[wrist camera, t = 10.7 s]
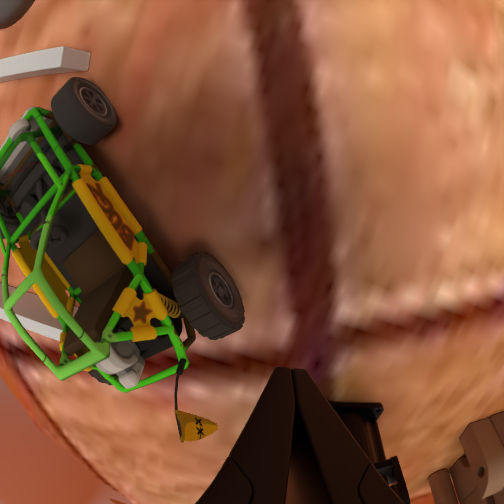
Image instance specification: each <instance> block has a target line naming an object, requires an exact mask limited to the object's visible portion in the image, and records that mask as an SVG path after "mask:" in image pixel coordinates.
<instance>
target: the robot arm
mask: <svg viewBox="0 0 504 504" xmlns="http://www.w3.org/2000/svg"><path fill="white" fill-rule="evenodd" d="M383 410H384V409H383V406H382V405H381V404H349V403H329V402H328V400H327V399H326V397H325V396H324V394H323V393H322V391H321V390H320V389H319V387H318V386H317V384H316V383H315V381H314V380H313V378H312V377H311V376H310V374H309V373H308V371H307V370H305V369H296V368H293V369H290V368H288V367H279V366H277V367H275V369H274V371H273V373H272V375H271V377H270V379H269V381H268V383H267V385H266V387H265V389H264V391H263V392H262V394H261V396H260V398H259V400H258V402H257V404H256V406H255V408H254V410H253V412H252V414H251V415H250V417H249V419H248V421H247V423H246V425H245V427H244V429H243V430H242V432H241V434H240V436H239V438H238V440H237V441H236V443H235V445H234V447H233V449H232V450H231V452H230V454H229V457H227V459H226V461H225V462H224V464H223V466H222V468H221V469H220V471H219V472H218V474H217V475H216V477H215V479H214V480H213V482H212V483H211V485H210V486H209V487H208V488H207V490H206V491H205V492H204V493H203V495H202V496H201V497H200V498H199V500H198V501H197V502H196V503H195V504H410V498H409V494H408V490H407V487H406V483H405V480H404V477H403V474H402V470H401V467H400V464H399V461H398V458H397V456H394V457H391V458H390V459H387V460H386V457H385V453H384V449H383V445H382V440H381V436H380V432H379V428H378V424H377V419H378V418H379V416H380V415H381V413H382V412H383ZM389 484H392V485H391V486H389Z"/></svg>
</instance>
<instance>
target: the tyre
mask: <svg viewBox="0 0 504 504" xmlns="http://www.w3.org/2000/svg"><path fill="white" fill-rule="evenodd" d="M34 1H35V0H0V29H4V28H7V27H10V26H11V25H13V24H14V23H16V22H17V21H18V20H19V19H21V18H22V17H23V16H24V14H25V13H26V12H27V11H28V10H29V8H30V7H31V6H32V4H33V3H34Z"/></svg>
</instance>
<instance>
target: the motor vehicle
mask: <svg viewBox="0 0 504 504" xmlns="http://www.w3.org/2000/svg"><path fill="white" fill-rule="evenodd" d="M51 107H52V112H51V111H48V110H46V109H43V108H40V107H31V108H29V109H27V110H26V112H25V113H24V114H23V116H22V117H21V118H20V120H18V121H16V122H15V123H14V124H13V125H12V126H11V127H10V129H9V132H8V134H9V135H8V136H7V138H6V139H5V141H4V142H3V144H2V145H1V147H0V246H1V249H2V251H3V254H4V257H5V258H4V264H3V271H2V291H3V303H4V311H5V313H6V315H7V317H8V318H9V320H10V321H11V323H12V324H13V326H14V327H15V329H16V330H17V332H18V333H19V335H20V336H21V337H22V338H23V340H24V341H25V342H26V343H27V344H28V345H29V347H30V348H31V349H32V350H33V351H34V352H35V353H36V354H37V356H38V357H39V358H40V359H41V360H42V361H43V362H44V363H45V364H46V365H47V366H48V367H49V368H50V369H51V370H52V372H53V373H54V374H55V375H56V376H57V378H58V379H60V380H61V381H63V380H65V379H67V378H69V377H71V376H73V375H75V374H77V373H79V372H80V371H82V370H84V371H88V373H89V374H90V375H91V376H92V377H95V378H96V379H97V380H98V381H99V382H101V383H107V384H109V385H114V386H115V387H116V388H117V389H118V390H120V391H122V392H129V391H132V390H135V389H137V388H140V387H143V386H146V385H149V384H152V383H154V382H157V381H159V380H161V379H164V378H166V377H168V376H171V375H173V374H175V373H177V377H176V384H175V415H176V420H177V425H178V430H179V435H180V440H181V442H184V441H195V440H199V439H202V438H205V437H207V436H209V435H211V434H212V433H214V432H215V431H216V430H217V429H218V425H217V424H216V423H214V422H212V421H210V420H208V419H205V418H202V417H199V416H196V415H193V414H190V413H186V412H182V411H179V410H178V407H177V389H178V378H179V375H182V373H183V370H184V369H186V368H188V364H189V361H188V359H187V356H186V353H185V351H186V350H187V349H188V348H189V346H190V345H191V344H192V343H193V342H194V341H195V339H196V335H195V331H194V328H195V329H196V330H197V331H198V332H199V334H201V335H202V336H204V337H208V338H209V339H211V340H217V339H219V338H223V337H225V336H227V335H230V334H232V333H234V332H236V331H238V330H240V329H241V328H242V326H243V325H242V324H243V323H244V321H245V317H244V312H245V311H244V306H243V303H242V299H241V296H240V294H239V291H238V289H237V287H236V285H235V283H234V281H233V280H232V278H231V276H230V275H229V273H228V272H227V271H226V270H225V268H224V267H223V266H222V265H221V264H220V263H219V262H218V261H217V260H216V259H214V258H212V256H211V255H209V254H207V253H205V254H204V253H202V252H197V253H195V254H194V255H192V256H191V257H189V258H187V259H186V260H184V261H183V262H181V263H180V264H179V265H177V266H176V267H175V269H174V271H173V272H174V274H173V275H172V274H171V272H170V271H169V269H168V268H167V267H166V265H165V264H164V262H163V261H162V259H161V258H160V256H159V255H158V253H157V252H156V250H155V249H154V247H153V246H152V244H151V243H150V241H149V240H148V239H147V237H146V236H145V234H144V233H143V231H142V227H141V226H140V224H139V223H138V222H137V220H136V219H135V217H134V216H133V215H132V213H131V212H130V210H129V209H128V208H127V206H126V205H125V203H124V202H123V201H122V199H121V198H120V196H119V195H118V193H117V192H116V190H115V189H114V188H113V186H112V185H111V183H110V182H109V180H108V179H107V177H103V176H102V174H101V173H100V171H99V170H98V169H97V167H96V165H95V164H94V162H93V161H92V160H91V158H90V157H89V156H88V154H87V153H86V151H85V150H84V149H83V147H82V146H81V144H80V143H79V142H81V143H84V144H90V145H93V144H96V143H98V142H99V141H100V140H101V139H102V138H103V137H104V136H106V135H107V134H108V133H109V132H110V131H111V130H112V129H113V128H114V127H115V126H116V124H117V115H116V111H115V109H114V107H113V106H112V104H111V103H110V102H109V100H108V99H107V97H106V96H105V94H104V93H103V92H102V91H101V90H100V89H99V88H98V87H97V86H96V85H95V84H93V83H92V82H90V81H88V80H86V79H84V78H80V77H73V78H70V79H69V80H68V81H67V82H66V84H65V85H64V86H63V87H62V88H61V89H60V90H59V91H58V92H57V93H56V94H55V96H54V97H53V98H52V101H51ZM2 238H5V239H6V240H7V247H6V249H5V246H4V243H3V239H2ZM28 240H30V243H29V241H28ZM15 243H19V245H20V248H17V246H16V245H15ZM10 249H12V251H13V253H12V255H13V257H14V259H15V260H16V262H17V264H18V265H19V267H20V269H21V270H22V272H23V273H24V275H25V277H26V278H25V280H24V281H23V282H22V283H21V284H20V285H19V286H18V288H17V289H16V290H15V291H14V292H13V293H12V295H11V296H10V297H9V288H8V267H9V258H10ZM31 286H32V287H33V289H34V290H35V292H36V293H37V295H38V296H39V298H40V299H41V301H42V302H43V304H44V305H45V306H46V308H47V309H48V311H49V312H50V313H51V315H52V316H53V317H54V318H57V319H58V320H59V322H60V323H61V324H62V327H63V331H62V332H61V333H60V343H59V348H60V350H61V351H62V356H61V359H60V364H59V366H58V365H55V364H54V363H53V362H52V360H51V359H50V358H49V357H48V356H47V355H46V354H45V353H44V351H43V350H42V349H41V348H40V347H39V346H38V344H37V343H36V342H35V341H34V340H33V338H32V337H31V336H30V335H29V334H28V332H27V331H26V330H25V328H24V327H23V325H22V324H21V322H20V321H19V319H18V318H17V316H16V315H15V313H14V312H13V309H12V307H13V306H14V305H15V303H16V302H17V301H18V300H19V299H20V298H21V297H22V296H23V295H24V294H25V292H26V291H27V290H28V289H29V288H30V287H31ZM65 289H66V290H68V291H69V292H70V297H69V298H68V296H67V294H66V293H65ZM75 300H76V301H77V302H78V303H79V304H80V306H79V308H78V310H77V312H76V314H75V316H74V317H73V312H74V306H75ZM181 318H184V323H185V327H186V332H187V336H188V338H187V339H186V340H185V341H184V342H183V343H182V341H181V339H180V338H179V336H180V334H181V332H182V321H181ZM172 346H174V349H175V352H176V355H177V357H178V361H179V364H177V365H175V366H173V367H170V368H168V369H166V370H164V371H161V372H159V373H157V374H155V375H153V376H150V377H148V378H145V379H142V380H140V378H141V375H142V371H143V368H144V364H145V360H144V359H146V358H149V357H151V356H153V355H155V354H157V353H159V352H161V351H164V350H166V349H168V348H170V347H172ZM73 354H74V355H75V356H76V358H77V359H76V360H69V358H68V355H69V356H71V355H73ZM139 380H140V381H139ZM180 426H181V427H180Z"/></svg>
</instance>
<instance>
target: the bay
mask: <svg viewBox="0 0 504 504" xmlns="http://www.w3.org/2000/svg"><path fill="white" fill-rule="evenodd" d="M90 55H91V53H90V52H86V51H82V50H78V49H74V48H69V47H65V46H63V47H56V48H50V49H45V50H40V51H35V52H30V53H25V54H21V55H16V56H12V57H8V58H4V59H0V82H5V81H11V80H16V79H22V78H28V77H35V76H42V75H50V74H58V73H68V72H79V71H88V68H89V61H90ZM8 288H9V297H10V296H11V295H12V293H13V292H14V291H15V290H16V289H17V288H14V287H11V286H8ZM78 308H79V307H75V306H74V312H73V317H74V316H75V314H76V312H77V310H78ZM12 309H13V312H14V313H15V315H16V316H17V318H18V319H19V321H20V322H21V324H22V325H23V327H24V328H25V329H28V330H30V331H33V332H36V333H38V334H41V335H44V336H46V337H49V338H52V339H55V340H58V341H60V333H61V332H62V331H63V327H62V324H61V323H60V322H59V320H58V319H57V318H54V317H53V316H52V315H51V313H50V312H49V311H48V309H47V308H46V306H45V305H44V304H43V302H42V301H41V299H40V298H39V296H38V295H35V294H32V293H29V292H25V294H24V295H23V296H22V297H21V298H20V299H19V300H18V301H17V302H16V303H15V305H14V306H13V307H12ZM0 318H1V319H3V320H5V321H8V322H10V323H11V321H10V320H9V318H8V317H7V315H6V313H5V311H4V303H3V291H2V283H0Z"/></svg>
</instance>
